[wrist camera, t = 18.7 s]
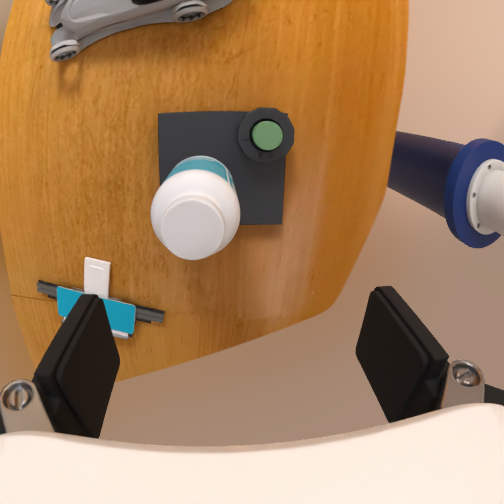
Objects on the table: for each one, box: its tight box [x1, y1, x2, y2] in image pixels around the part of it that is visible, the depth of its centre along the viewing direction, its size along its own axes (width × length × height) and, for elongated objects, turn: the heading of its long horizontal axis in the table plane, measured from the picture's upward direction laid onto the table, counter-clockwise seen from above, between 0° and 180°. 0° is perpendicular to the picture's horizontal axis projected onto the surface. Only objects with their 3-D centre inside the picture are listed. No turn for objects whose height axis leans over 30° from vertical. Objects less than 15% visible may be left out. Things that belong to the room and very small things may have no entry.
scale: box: [158, 108, 294, 225], centre depth 33 cm, size 14×14×3 cm
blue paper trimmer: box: [37, 257, 164, 339], centre depth 39 cm, size 20×12×2 cm, turn 74°
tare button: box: [252, 121, 283, 150], centre depth 30 cm, size 3×3×2 cm
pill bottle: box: [151, 156, 240, 260], centre depth 28 cm, size 8×7×14 cm
